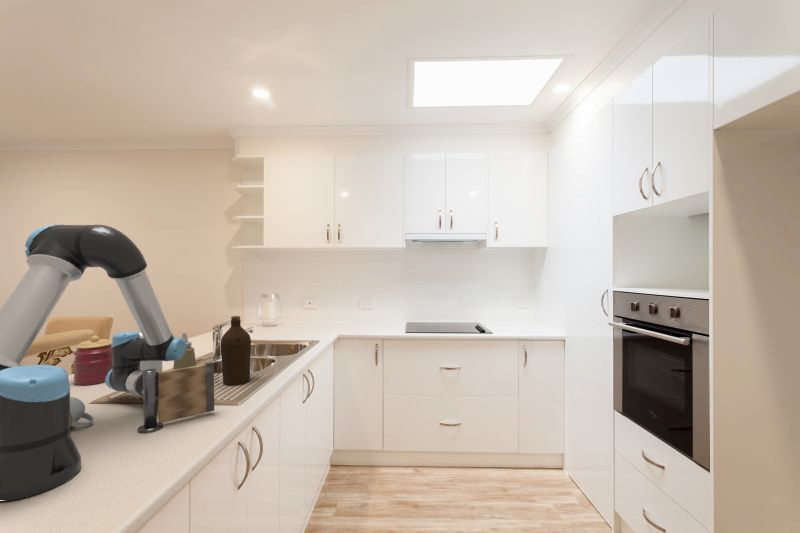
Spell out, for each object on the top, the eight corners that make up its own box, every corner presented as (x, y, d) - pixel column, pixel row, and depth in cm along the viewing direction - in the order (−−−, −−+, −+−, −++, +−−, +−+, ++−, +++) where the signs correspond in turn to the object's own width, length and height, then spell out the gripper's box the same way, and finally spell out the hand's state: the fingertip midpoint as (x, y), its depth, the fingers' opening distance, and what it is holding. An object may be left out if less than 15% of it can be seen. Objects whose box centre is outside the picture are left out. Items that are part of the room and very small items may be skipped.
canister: (101, 374, 155) (101, 331, 154) (124, 377, 151) (123, 333, 150) (65, 384, 142) (64, 337, 142) (88, 387, 138) (87, 339, 138)
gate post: (163, 429, 103) (162, 371, 102) (137, 435, 99) (135, 375, 99) (163, 421, 108) (162, 366, 107) (137, 427, 104) (136, 369, 104)
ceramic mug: (37, 437, 99) (37, 408, 99) (52, 425, 106) (52, 398, 106) (87, 431, 103) (87, 403, 103) (98, 419, 110) (98, 393, 110)
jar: (131, 378, 149) (130, 333, 149) (160, 373, 155) (159, 329, 155) (134, 384, 142) (134, 336, 141) (165, 378, 148) (164, 333, 148)
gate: (159, 423, 104) (158, 372, 104) (158, 421, 106) (157, 370, 105) (214, 410, 113) (213, 362, 113) (212, 408, 115) (211, 361, 114)
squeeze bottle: (184, 383, 142) (183, 336, 142) (168, 381, 144) (167, 334, 144) (201, 377, 149) (200, 332, 149) (186, 375, 152) (185, 331, 152)
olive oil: (257, 379, 146) (256, 315, 145) (234, 388, 136) (233, 319, 136) (238, 376, 150) (237, 313, 150) (214, 384, 141) (213, 317, 141)
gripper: (166, 388, 128) (218, 396, 119) (125, 401, 115) (179, 412, 106) (165, 365, 127) (217, 373, 119) (124, 377, 115) (179, 386, 106)
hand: (199, 391), depth 113 cm, fingers closed
